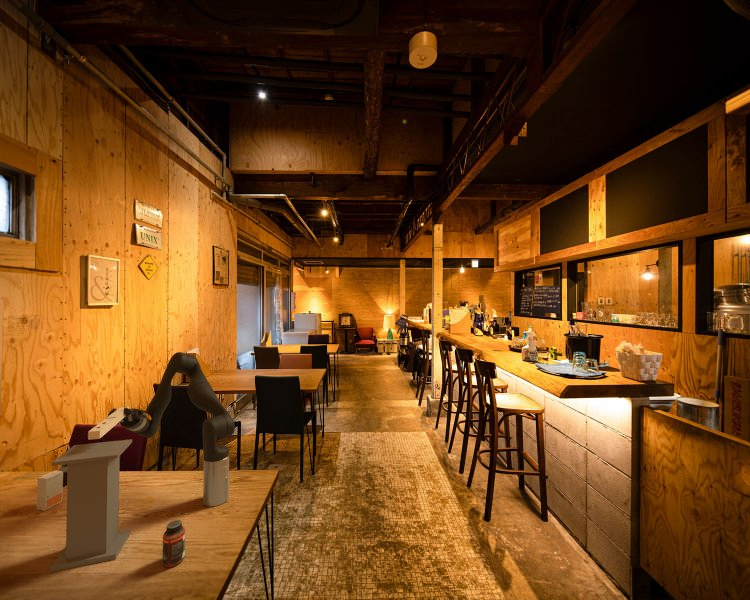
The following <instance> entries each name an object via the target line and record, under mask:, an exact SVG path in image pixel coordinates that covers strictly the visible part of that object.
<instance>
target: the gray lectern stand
mask: <svg viewBox="0 0 750 600" xmlns="http://www.w3.org/2000/svg"><path fill="white" fill-rule="evenodd" d="M132 443H133V439H124V440H123V439H122V440H113V441H103V442H94V443H93V442H92V443H84V444H75V445H73V446H71V447H69V448H70V449H69V450H68V449H67V450H66V451H65V452H64V453H62V454H61V455H59V457H56V459H54V460H53V461H52V462H51V466H62V465H64V464H67V485H66V522H65V523H66V526H65V527H66V529H65V531H66V532H65V533H66V534H65V547H64V549H63V550H62V552H61V553H60V554H59V555H58V557H57V558H56V559H55V560H54V561H53V563H52V564H51V565H50V566H49V573H53V572H59V571H63V570H68V569H74V568H78V567H84V566H89V565H93V564H99V563H104V562H109V561H114V560H116V559H117V558H118V556H119V554H120V553H121V551H122V549H123V547H124V545H125V544H126V543H127V540H128V538H129V537H130V535H131V532H132V531H131V530H132V529H131V528H127V529H122V530H121V529H120V530H119V523H120V522H119V521H120V519H119V518H120V517H119V516H120V514H119V511H120V466H121V465H120V463H121V462H120V459H121V455H122V454H123V453H124V452H125V450H127V449H128V447H129V446H130V445H131V444H132Z"/></svg>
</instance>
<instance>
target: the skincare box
mask: <svg viewBox="0 0 750 600" xmlns="http://www.w3.org/2000/svg"><path fill="white" fill-rule="evenodd" d="M36 485H37V486H36V510H38V511H47V510H49V509H51V508H52V507H54V506H57V505H59V504H60V503H62V502H63V491H64V490H63V488H64V487H63V471H59V470H53V471H51V472H47V473H46V474H44V475H41V476H39V477H37V484H36Z"/></svg>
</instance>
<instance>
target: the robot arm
mask: <svg viewBox="0 0 750 600" xmlns="http://www.w3.org/2000/svg"><path fill="white" fill-rule="evenodd" d="M176 374H181V375H185V376H186V377H187V378H188V380H189V383H188V386H187V390H186V391H187V392H186V393H187V395H188V398H189V399H190V402H191V403H192V404H193V405H194V406H195V407H196V408H198V409H200V410H202V411H204V412H205V413H208V414H210V415H212V417H208V418H206V419H204V420H203V422H202V428H201V429H202V452H203V475H202V476H203V479H202V480H203V482H202V483H203V484H202V485H203V487H202V489H203V490H202V493H203V495H202V503H203V504H202V505H204V506H206V507H217V506H220V505H222V504H225V503H227V501H229V498H228V497H230V474H231V473H230V448H229V447H228V446H227V445H225V444H216V443H217V441H220V440H223V439H227V438H229V437H231V436H232V435H234V433H235V430H236V425H235V422H234V419H233V417H232V415H231V414H230V413H229V411H228V410H227V409H226V408H225V407H224V405H223V404H222V402H221V401H220V399H219V398H218V396H217V394H216V393H215V390H214V389H213V387H212V384H211V383H210V382H209V380H208V379H207V377H206V375H205V374H204V372H203V369H202V367H201V364H200V362H199V360H198V358H197V357H196V356H194V355H193V354H192V355H191V354H189V353H185V352H181V351H179V352H176V353H173V354H172V356H171V358H170V359H169V360H168V362H167V365H166V367H165V370H164V372H163V374H162V377H161V379H160V383H159V385H158V387H157V390H156V391H155V393H154V396H153V397H152V399H151V401H149V404H148V405H147V406H146V409H145V410H144V409H140V408H139V409H138V408H134V407H133V408H129V409H128V408H124V412H123V414H125V415H126V416H125V417H124V418H123V419H122V420H121V421H120V422H118V424H120V427H122V428H125V429H126V430H128V431H131V432H133V433H134V434H137V435H139V436H141V437H144V438H146V439H151V438H153V437H154V436H156V434H157V433H158V431H159V428H160V426H161V420H162V417H163V414H164V412H165V411H166V408H167V407H168V405H169V403H170V402H171V399H172V382H173V379H174V377H175V375H176ZM117 409H118V408H115V407H114V408H112V409H111V410H110V411H109V412H108V413H107V417H108V416H110V415H111V414H112V413H113V412H115V411H116V410H117ZM148 415H149V417H150V419H149V417H147V416H148ZM107 417H106V418H107Z"/></svg>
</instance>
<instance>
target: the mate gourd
mask: <svg viewBox="0 0 750 600" xmlns="http://www.w3.org/2000/svg"><path fill="white" fill-rule="evenodd" d="M66 445H67V446H66V447H67V450H69V449H70V448H71V447H70V445H69V444H66ZM58 471H63V488H65V487H67V464H63V465H60V467H59V468H58Z"/></svg>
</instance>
